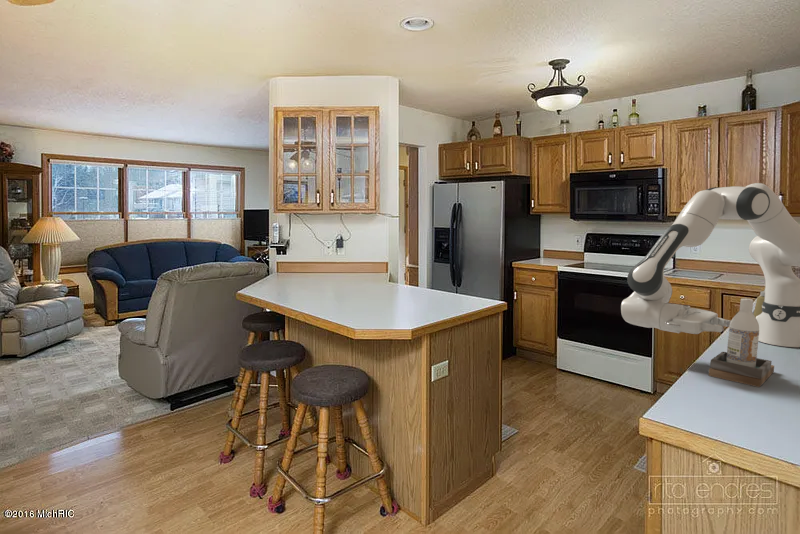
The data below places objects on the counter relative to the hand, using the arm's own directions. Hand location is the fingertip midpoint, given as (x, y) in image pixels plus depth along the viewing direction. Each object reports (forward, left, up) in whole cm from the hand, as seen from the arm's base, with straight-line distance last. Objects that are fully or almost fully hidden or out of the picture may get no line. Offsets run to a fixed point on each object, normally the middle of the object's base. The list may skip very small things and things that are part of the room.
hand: (727, 326), depth 139 cm
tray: (-2, +4, -14) cm, 14 cm away
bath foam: (-1, +4, -12) cm, 12 cm away
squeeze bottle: (-78, -4, -14) cm, 79 cm away
